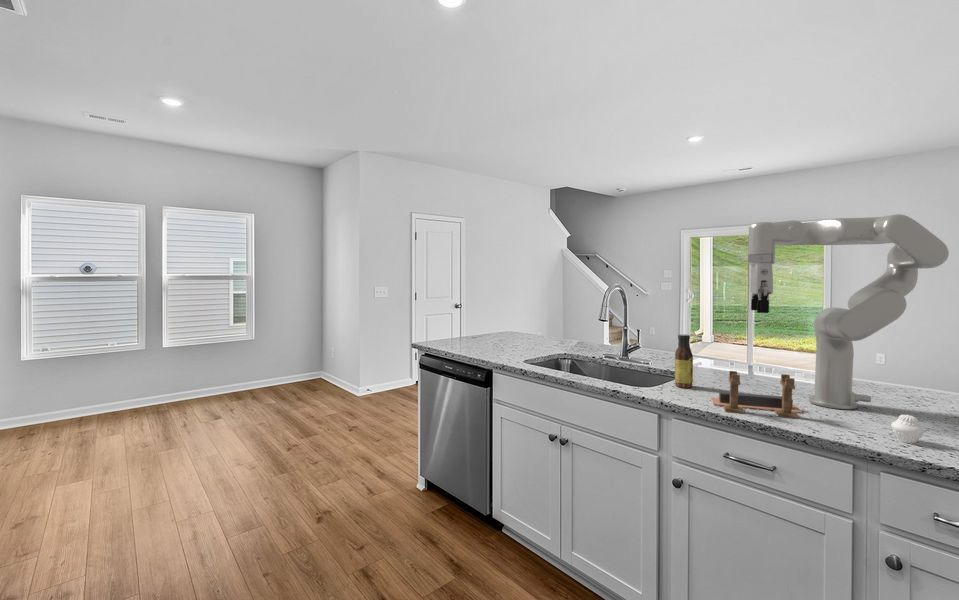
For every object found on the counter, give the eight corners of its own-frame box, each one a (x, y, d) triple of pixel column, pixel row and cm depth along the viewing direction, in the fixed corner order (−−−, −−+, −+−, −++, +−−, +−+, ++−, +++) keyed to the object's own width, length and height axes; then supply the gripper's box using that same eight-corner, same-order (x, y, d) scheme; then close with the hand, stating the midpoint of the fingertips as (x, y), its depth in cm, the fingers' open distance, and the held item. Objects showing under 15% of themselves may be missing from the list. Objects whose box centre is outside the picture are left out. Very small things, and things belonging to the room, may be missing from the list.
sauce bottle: (694, 389, 165) (695, 336, 164) (676, 388, 166) (677, 335, 165) (690, 384, 171) (691, 333, 170) (672, 384, 173) (673, 333, 171)
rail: (789, 406, 141) (790, 397, 141) (792, 409, 138) (792, 399, 138) (719, 400, 149) (719, 391, 148) (720, 402, 146) (720, 393, 146)
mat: (794, 406, 143) (794, 404, 143) (802, 413, 136) (802, 412, 135) (711, 398, 152) (711, 397, 152) (714, 405, 144) (714, 404, 144)
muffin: (927, 442, 112) (929, 415, 111) (918, 447, 109) (920, 419, 108) (895, 435, 117) (896, 409, 117) (886, 439, 114) (887, 413, 114)
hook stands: (793, 413, 136) (794, 375, 135) (799, 419, 130) (800, 379, 129) (723, 407, 143) (724, 370, 142) (725, 412, 137) (726, 374, 136)
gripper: (781, 259, 137) (779, 314, 138) (768, 260, 153) (766, 309, 154) (753, 259, 140) (751, 313, 141) (743, 260, 156) (742, 309, 157)
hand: (759, 311), depth 148 cm, fingers open, 9 cm apart
